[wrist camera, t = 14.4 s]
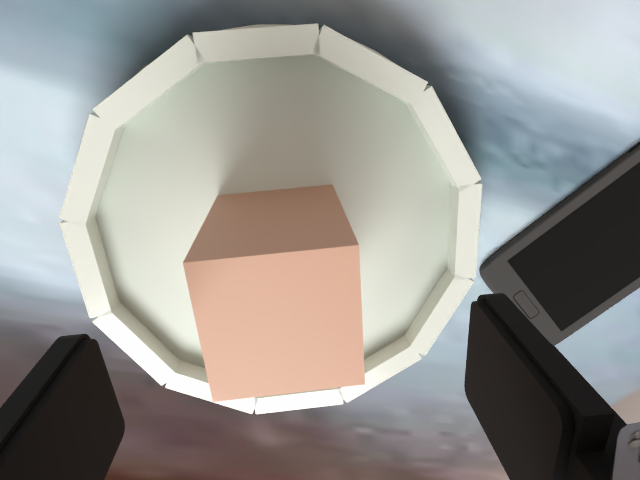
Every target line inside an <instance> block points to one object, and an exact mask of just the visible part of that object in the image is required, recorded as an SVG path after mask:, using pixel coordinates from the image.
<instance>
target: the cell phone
mask: <svg viewBox="0 0 640 480" xmlns="http://www.w3.org/2000/svg"><path fill="white" fill-rule="evenodd" d="M479 271H480V275H481V277H482V279H483V280H484V282H485V283H486V285H487V286H488V287H489V288H490V290H491V291H492V292H493V293H494V294H496V293H504V294H505V295H506V296H507V297H508V298H509V299H510V300H511V301H512V302H513V303H514V304H515V305H516V306H517V307H518V309H519V310H520V311H521V312H522V313H523V314H524V315H525V316H526V317H527V318H528V319H529V321H530V322H531V323H532V324H533V325H534V326H535V327H536V328H537V329H538V330H539V331H540V332H541V334H542V335H543V336H544V337H545V338H546V339H547V340H548V341H549V342H550V343H551V344H552V345H553V346H554V345H556V344H558V343H559V342H561V341H563V340H564V339H565V338H567V337H568V336H570V335H571V334H573V333H574V332H576V331H577V330H579V329H580V328H581V327H583V326H584V325H586V324H587V323H589V322H590V321H592V320H593V319H595V318H596V317H597V316H599V315H600V314H602V313H603V312H605V311H606V310H608V309H609V308H610V307H612V306H613V305H615V304H616V303H618V302H619V301H621V300H622V299H624V298H625V297H626V296H628V295H629V294H631V293H632V292H634V291H635V290H637V289H638V288H640V142H639V143H638V144H637V145H636V146H634V147H633V148H632V149H630V150H629V151H628V152H626V153H625V154H624V155H622V156H621V157H620V158H618V159H617V160H616V161H614V162H613V163H612V164H610V165H609V166H608V167H607V168H605V169H604V170H603V171H601V172H600V173H599V174H597V175H596V176H595V177H593V178H592V179H591V180H589V181H588V182H587V183H585V184H584V185H583V186H582V187H580V188H579V189H578V190H576V191H575V192H574V193H572V194H571V195H570V196H568V197H567V198H566V199H564V200H563V201H562V202H560V203H559V204H558V205H557V206H555V207H554V208H553V209H551V210H550V211H549V212H547V213H546V214H545V215H543V216H542V217H541V218H539V219H538V220H537V221H535V222H534V223H533V224H532V225H530V226H529V227H528V228H526V229H525V230H524V231H522V232H521V233H520V234H518V235H517V236H516V237H514V238H513V239H512V240H510V241H509V242H508V243H507V244H505V245H504V246H503V247H501V248H500V249H499V250H497V251H496V252H495V253H494V254H492V255H491V256H490V257H489V258H488V259H487V260H485V261H484V262H483V264H482V265H481V266H480V270H479Z"/></svg>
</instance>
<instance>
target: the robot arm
mask: <svg viewBox="0 0 640 480" xmlns="http://www.w3.org/2000/svg"><path fill="white" fill-rule="evenodd" d="M465 393H466V396H467V399H468V401H469V403H470V405H471V407H472V409H473V410H474V412H475V414H476V416H477V418H478V420H479V422H480V424H481V426H482V428H483V429H484V431H485V433H486V435H487V437H488V439H489V441H490V443H491V445H492V447H493V448H494V450H495V452H496V454H497V456H498V458H499V460H500V462H501V464H502V466H503V467H504V469H505V471H506V473H507V475H508V477H509V479H510V480H640V422H638V423H633V424H628V425H627V424H626V423H625V422H624V421H623V420H622V419H621V418H620V417H619V416H618V414H617V413H616V412H615V411H614V410H613V409H612V408H611V407H610V406H609V405H608V404H607V402H606V401H605V400H604V399H603V398H602V397H601V396H600V395H599V394H598V393H597V392H596V391H595V389H594V388H593V387H592V386H591V385H590V384H589V383H588V382H587V381H586V380H585V379H584V378H583V377H582V375H581V374H580V373H579V372H578V371H577V370H576V369H575V368H574V367H573V366H572V365H571V364H570V362H569V361H568V360H567V359H566V358H565V357H564V356H563V355H562V354H561V353H560V352H559V351H558V349H557V348H556V347H555V346H553V345H552V344H551V343H550V342H549V341H548V340H547V339H546V338H545V337H544V336H543V335H542V334H541V332H540V331H539V330H538V329H537V328H536V327H535V326H534V325H533V324H532V323H531V322H530V321H529V319H528V318H527V317H526V316H525V315H524V314H523V313H522V312H521V311H520V310H519V309H518V307H517V306H516V305H515V304H514V303H513V302H512V301H511V300H510V299H509V298H508V297H507V296H506V295H505V294H504V293H496V294H486V295H480V296H479V297H478V299H477V301H473V302H472V304H471V311H470V323H469V335H468V347H467V360H466V372H465ZM124 428H125V424H124V419H123V416H122V413H121V410H120V407H119V404H118V401H117V398H116V395H115V392H114V389H113V386H112V383H111V380H110V377H109V374H108V371H107V368H106V365H105V362H104V359H103V356H102V354H101V351H100V348H99V345H98V342H97V341H96V340H95V339H90V337H89V336H88V335H87V334H79V335H68V336H61V337H59V338H58V339H57V340H56V341H55V342H54V343H53V344H52V346H51V347H50V348H49V349H48V351H47V352H46V353H45V354H44V355H43V357H42V358H41V359H40V360H39V362H38V363H37V364H36V365H35V366H34V368H33V369H32V370H31V371H30V372H29V374H28V375H27V376H26V377H25V379H24V380H23V381H22V382H21V383H20V385H19V386H18V387H17V388H16V390H15V391H14V392H13V393H12V394H11V396H10V397H9V398H8V399H7V401H6V402H5V403H4V404H3V405H2V407H1V408H0V480H104V479H105V477H106V474H107V472H108V470H109V467H110V465H111V463H112V460H113V458H114V456H115V454H116V451H117V449H118V447H119V444H120V442H121V440H122V437H123V435H124Z"/></svg>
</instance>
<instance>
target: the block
mask: <svg viewBox="0 0 640 480" xmlns="http://www.w3.org/2000/svg"><path fill="white" fill-rule="evenodd" d="M183 266H184V271H185V276H186V280H187V285H188V290H189V294H190V299H191V304H192V308H193V313H194V318H195V322H196V327H197V332H198V336H199V341H200V346H201V350H202V355H203V360H204V364H205V369H206V373H207V378H208V383H209V387H210V392H211V397H212V401H213V402H219V401H228V400H236V399H245V398H253V397H262V396H271V395H279V394H288V393H296V392H305V391H313V390H322V389H330V388H339V387H348V386H356V385H365V370H364V346H363V323H362V300H361V277H360V254H359V244H358V241H357V239H356V237H355V235H354V232H353V230H352V228H351V225H350V223H349V221H348V219H347V216H346V214H345V212H344V210H343V207H342V205H341V203H340V200H339V198H338V196H337V194H336V191H335V189H334V187H333V185H321V186H310V187H300V188H289V189H278V190H268V191H257V192H246V193H236V194H225V195H217V197H216V199H215V201H214V203H213V205H212V207H211V209H210V211H209V213H208V215H207V217H206V219H205V221H204V223H203V225H202V226H201V228H200V230H199V232H198V234H197V236H196V238H195V240H194V242H193V244H192V246H191V248H190V250H189V252H188V254H187V255H186V257H185V259H184V261H183Z"/></svg>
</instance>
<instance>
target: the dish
mask: <svg viewBox="0 0 640 480" xmlns="http://www.w3.org/2000/svg"><path fill="white" fill-rule="evenodd" d="M427 84H428V82H427V81H425V80H423V79H421V78H420V77H418V76H416V75H414V74H412V73H411V72H409V71H407V70H405V69H403V68H401V67H400V66H398V65H397V64H395V63H394V62H392V61H391V60H389V59H387V58H386V57H384V56H383V55H381V54H380V53H378V52H377V51H375V50H373V49H371V48H369V47H367V46H365V45H362V44H360V43H358V42H356V41H354V40H352V39H349V38H347V37H345V36H343V35H342V34H340V33H338V32H336V31H334V30H333V29H331V28H329V27H327V26H325V25H323V26H322V27H321V30H320V29H319V28H318V23H317V24H303V25H265V24H257V25H250V26H243V27H236V28H229V29H224V30H221V31H207V32H193V37H192V36H189V35H186V36H185V37H183V38H182V39H181V40H180V41H178V42H177V43H176V44H175V45H173V46H172V47H171V48H170V49H168V50H167V51H166V52H164V53H163V54H162V55H161V56H159V57H158V58H157V59H156V60H154V61H153V62H151V63H150V64H148V65H147V66H145V67H144V68H143V69H142V70H140V71H139V72H138V73H137V74H136V75H135V76H134V77H133V78H132V79H130V80H129V81H128V82H126V83H125V84H124V85H123V86H121V87H120V88H119V89H118V90H116V91H115V92H114V93H113V94H111V95H110V96H109V97H107V98H106V99H105V100H104V101H102V102H101V103H100V104H99V105H97V106H96V107H95V108H94V109H93V110H94V112H95V113H91V114H89V117H88V121H87V124H86V128H85V131H84V135H83V138H82V141H81V145H80V148H79V152H78V155H77V159H76V162H75V165H74V169H73V172H72V176H71V179H70V183H69V186H68V189H67V193H66V196H65V200H64V203H63V207H62V210H61V213H60V217H59V218H60V219H63V221H61V222H60V223H59V224H60V227H61V230H62V233H63V236H64V239H65V243H66V246H67V249H68V252H69V255H70V258H71V261H72V264H73V268H74V271H75V274H76V277H77V280H78V283H79V286H80V289H81V293H82V296H83V299H84V302H85V305H86V308H87V311H88V315H89V318H95V319H94V320H93V321H92V322H93V323H94V324H95V325H96V326H97V327H98V328H99V329H101V330H102V331H103V332H104V333H105V334H106V335H107V336H108V337H109V338H110V339H111V340H112V341H114V342H115V343H116V344H117V345H118V346H119V347H120V348H121V349H122V350H123V351H124V352H126V353H127V354H128V355H129V356H130V357H131V358H132V359H133V360H134V361H135V362H136V363H138V364H139V365H140V366H141V367H142V368H143V369H144V370H145V371H146V372H147V373H148V374H149V375H151V376H152V377H153V378H154V379H155V380H156V381H157V382H158V383H159V384H160V385H163V384H165V383H166V382H167V384H166V387H165V388H168V389H171V390H175V391H178V392H181V393H185V394H188V395H191V396H194V397H198V398H201V399H204V400H208V401H211V402H213V401H212V397H211V392H210V387H209V383H208V378H207V373H206V369H205V364H204V360H203V355H202V350H201V346H200V341H199V336H198V332H197V327H196V322H195V318H194V313H193V308H192V304H191V299H190V294H189V290H188V285H187V280H186V276H185V271H184V266H183V261H184V259H185V257H186V255H187V254H188V252H189V250H190V248H191V246H192V244H193V242H194V240H195V238H196V236H197V234H198V232H199V230H200V228H201V226H202V225H203V223H204V221H205V219H206V217H207V215H208V213H209V211H210V209H211V207H212V205H213V203H214V201H215V199H216V197H217V195H225V194H236V193H246V192H257V191H268V190H278V189H289V188H300V187H310V186H321V185H333V187H334V189H335V191H336V194H337V196H338V198H339V200H340V203H341V205H342V207H343V210H344V212H345V214H346V216H347V219H348V221H349V223H350V225H351V228H352V230H353V232H354V235H355V237H356V239H357V241H358V244H359V254H360V277H361V300H362V323H363V346H364V370H365V385H356V386H348V387H339V388H330V389H322V390H313V391H305V392H296V393H288V394H279V395H271V396H262V397H253V398H245V399H236V400H228V401H219V402H214V403H217V404H221V405H224V406H227V407H231V408H234V409H237V410H240V411H244V412H247V413H250V414H252V413H253V411H254V409H255V412H256V414H263V413H271V412H280V411H288V410H297V409H305V408H314V407H322V406H331V405H339V404H343V399H344V400H345V401H346V402H347V403H348V402H349V401H351V400H353V399H354V398H356V397H358V396H359V395H361V394H363V393H365V392H366V391H368V390H370V389H371V388H373V387H375V386H376V385H378V384H380V383H382V382H383V381H385V380H387V379H388V378H390V377H392V376H393V375H395V374H397V373H398V372H400V371H402V370H404V369H405V368H407V367H409V366H410V365H412V364H414V363H415V362H417V361H419V360H421V359H422V357H421V355H420V354H422V355H426V354H427V352H428V351H429V349H430V348H431V346H432V345H433V343H434V342H435V340H436V339H437V337H438V336H439V334H440V333H441V331H442V330H443V328H444V327H445V325H446V324H447V322H448V321H449V319H450V317H451V316H452V314H453V313H454V311H455V310H456V308H457V307H458V305H459V304H460V302H461V301H462V299H463V298H464V296H465V295H466V293H467V292H468V290H469V289H470V287H471V286H472V284H473V283H474V281H473V280H472V279H471V278H476V265H477V251H478V237H479V223H480V210H481V196H482V183H480V182H479V180H481V177H480V175H479V174H478V172H477V170H476V168H475V166H474V164H473V162H472V160H471V159H470V157H469V155H468V153H467V151H466V149H465V147H464V145H463V144H462V142H461V140H460V138H459V136H458V134H457V132H456V130H455V129H454V127H453V125H452V123H451V121H450V119H449V117H448V115H447V114H446V112H445V110H444V108H443V106H442V104H441V102H440V100H439V99H438V97H437V95H436V93H435V91H434V89H433V87H432V86H427Z"/></svg>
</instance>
